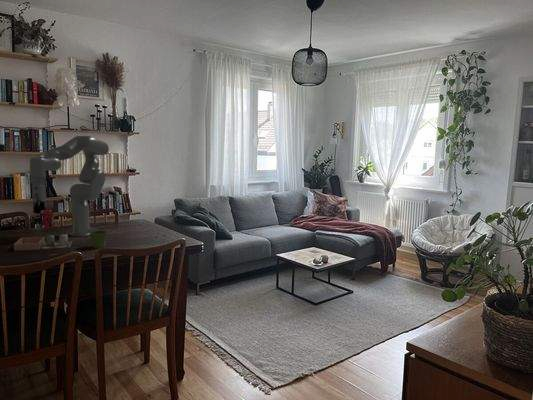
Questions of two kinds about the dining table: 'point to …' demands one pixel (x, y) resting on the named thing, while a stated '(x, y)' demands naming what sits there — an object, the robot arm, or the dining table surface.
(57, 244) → the birch tray
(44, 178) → the robot arm
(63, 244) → the pebble grey
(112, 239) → the dining table surface
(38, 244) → the brown shallow rectangular tray
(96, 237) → the plant pot
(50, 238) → the pebble dark
